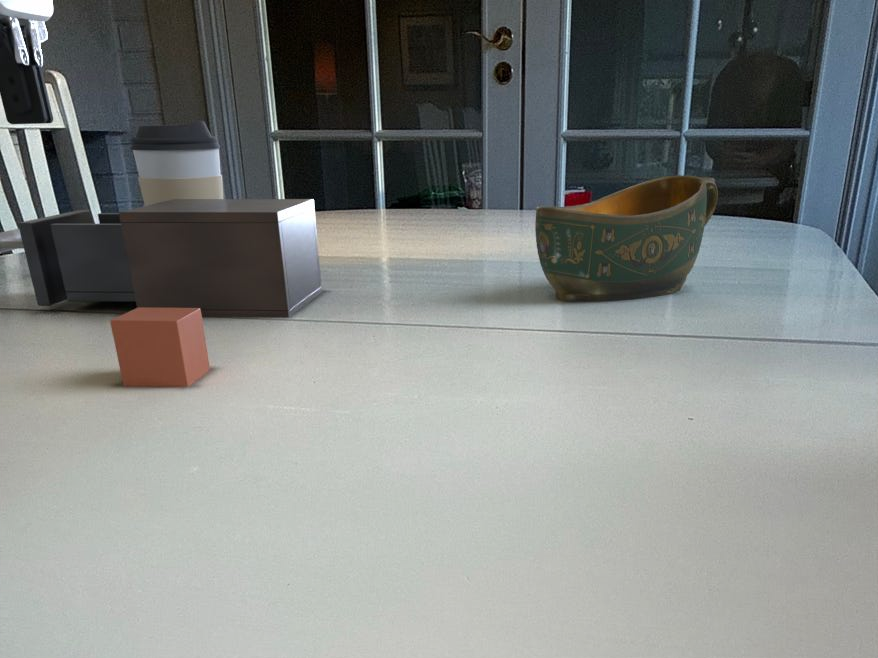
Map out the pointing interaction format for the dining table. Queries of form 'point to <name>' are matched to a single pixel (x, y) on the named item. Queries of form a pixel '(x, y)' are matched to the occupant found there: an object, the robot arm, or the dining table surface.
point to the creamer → (626, 240)
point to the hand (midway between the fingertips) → (31, 123)
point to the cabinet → (224, 255)
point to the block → (161, 346)
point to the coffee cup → (177, 162)
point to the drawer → (74, 257)
